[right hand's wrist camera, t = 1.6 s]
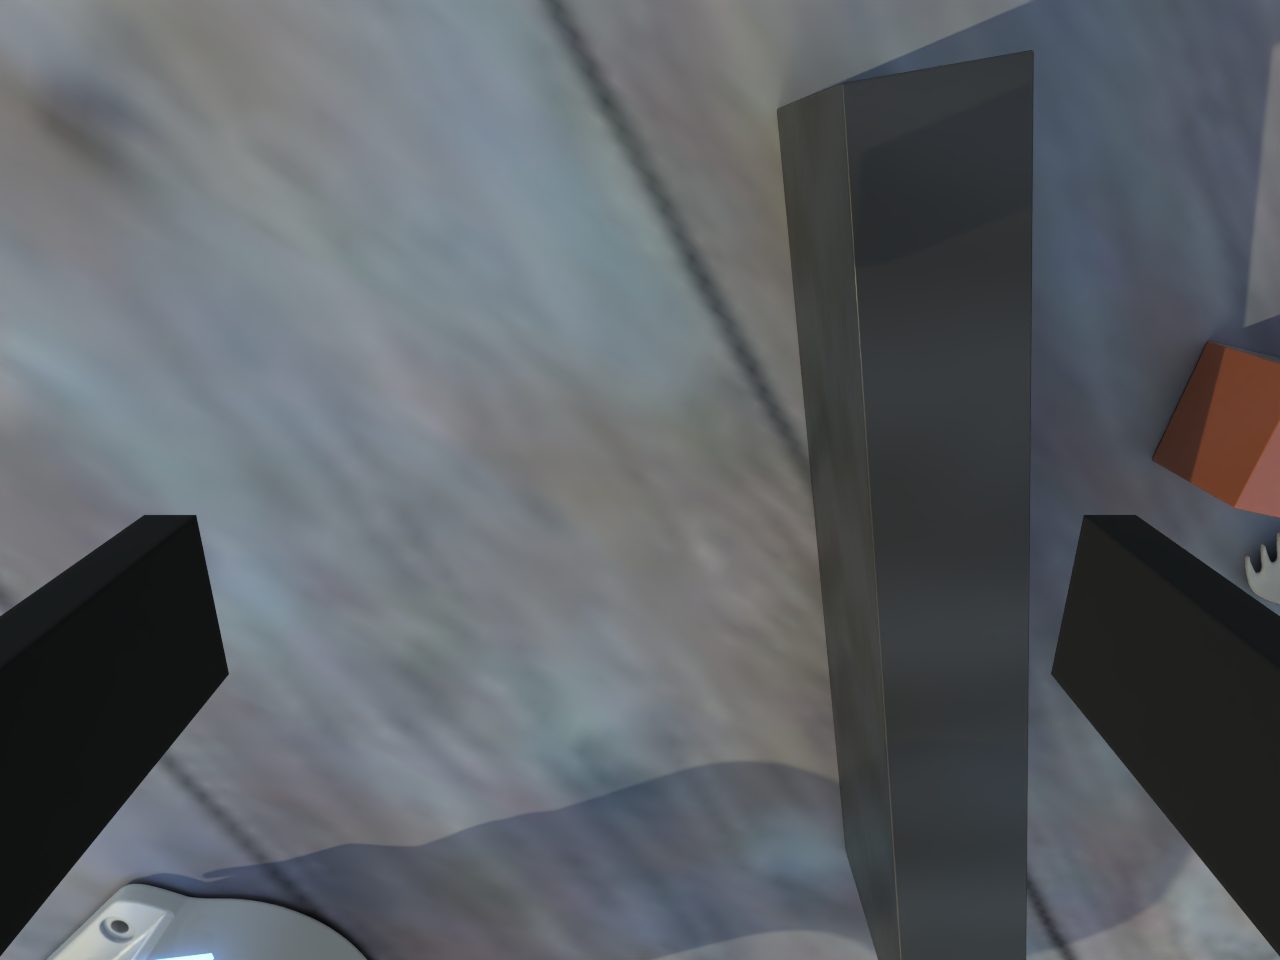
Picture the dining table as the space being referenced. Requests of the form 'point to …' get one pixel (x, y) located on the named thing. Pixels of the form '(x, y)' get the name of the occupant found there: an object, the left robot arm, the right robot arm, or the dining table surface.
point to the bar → (922, 483)
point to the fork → (1265, 575)
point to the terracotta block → (1229, 429)
